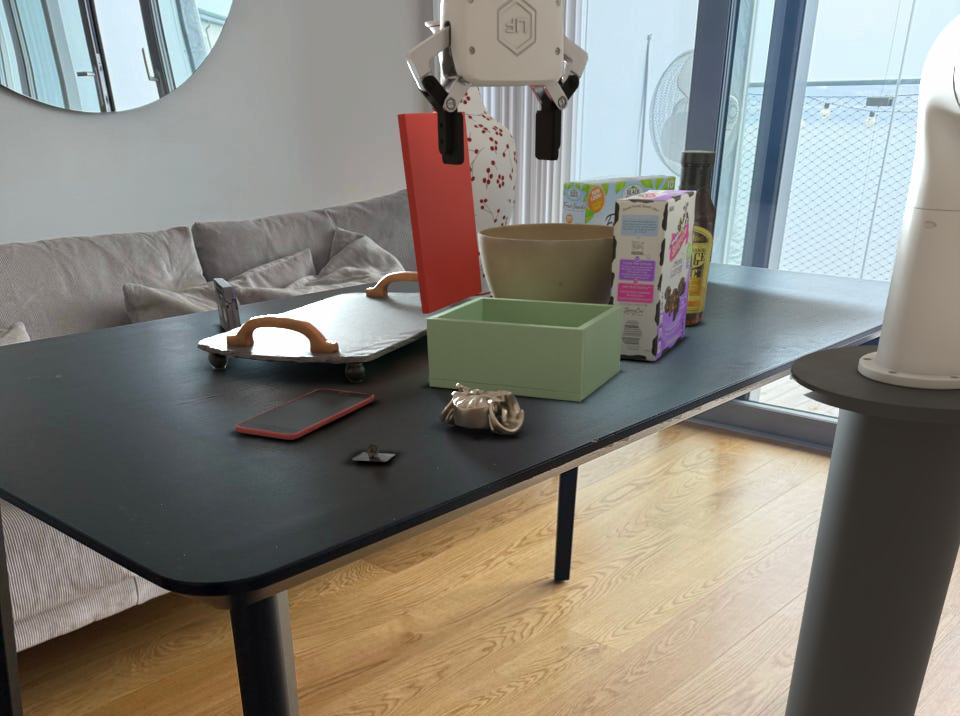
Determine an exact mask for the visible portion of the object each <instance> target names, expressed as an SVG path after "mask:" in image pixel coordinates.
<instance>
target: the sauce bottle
mask: <svg viewBox="0 0 960 716" xmlns="http://www.w3.org/2000/svg"><path fill="white" fill-rule="evenodd" d="M680 153H681V154H680V159H679V163H680V175H679V184H678V186H677V191H696V203H695V216H694V228H693V240H692V252H691V264H690V276H689V287H688V300H687V311H686V323H685V327H689V326H690V327H691V326H695V325H696V324H699V323H700V322H701V321H702V318H703V313H704V310H705V304H706V294H707V286H708V278H709V272H710V265H711V257H712V250H713V243H714V230H715V223H716V217H717V211H716V207H715V205H714V201H713V200H712V197H711V194H710V192H711V179H712V172H713V167H714V165H715V161H716V151H713V150H682V151H681V152H680Z"/></svg>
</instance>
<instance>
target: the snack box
mask: <svg viewBox="0 0 960 716" xmlns="http://www.w3.org/2000/svg"><path fill="white" fill-rule="evenodd" d="M676 180H677V177H676V176H674V175H665V174H647V175H635V176H634V175H632V176H620V177H619V176H618V177H607V178H595V179H586V180H585V179H584V180H572V181H564V182H563V189H562V210H561V211H562V214H561V223H578V224H597V225H608V226H614V217H615V202H616V199H623V198H627V197H631V196H634V195H638V194H641V193H645V192H647V191H648V190H676Z"/></svg>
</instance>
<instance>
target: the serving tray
mask: <svg viewBox="0 0 960 716" xmlns="http://www.w3.org/2000/svg"><path fill="white" fill-rule="evenodd" d="M396 282H397V283H398V282H415V283H419V282H418V274H417V271H411V270H409V271H407V270H405V271H396V272H392V273H391V272H390V273H388V274H386V275H384V276H383V277H382V278H381V279H380V280H379V281H378V282H377V284H376V285H375V286H374V287H367V288H366V289H365V292H349V293H341V294H340V293H339V294H337V295H333V296H331V297H327V298H324V299H323V300H318V301H315V302H313V303H309V304H307V305H304V306H302V307H297V308H295V309H290V310H287V311H285V312H282V313H278V314H267V315H259V316H254V317H251V318H249V319H247V320H246V321H245V322H244V323H243V324H242V325H241V327H240V328H236V329H233V330H230V331H228V332H226V331H225V332H221V333H218V334H215V335H212V336H211V337H207V338H203V339H202V340H200V341H198V343H197V346H196V348H197V349H199V350H201V351H202V352H203V351H204V352H206V353H208V357H207V360H208V363H209V365H210V366H211V367H212V369H213V370H217V371H218V370H225V369H226V368H227V367H226V366H227V365H228V362H229V358H235V359H236V358H237V359H239V358H240V359H245V360H251V361H259V362H260V361H261V362H270V363H271V362H275V363H276V362H277V363H292V364H293V363H294V364H331V365H338V364H346V366H345V369H344V373H345V376H346V378H347V379H348V380H349V383H353V384H355V383H362V382H363V381H364V380H363V379H364V378H365V376H366V368H365V366H364V364H363V363H367V362H372V361H375V360H376V359H378V358H381V357H383V356H385V355H387V354H389V353H392V352H393V351H396V350H397V349H401V348H402V347H405V346H407V345H409V344H412V343H414V342H416V341H417V340H419V339H421V338H423V337H425V336H427V322H426V319H427V318H429V317H432V316H434V315H437V314H439V313H441V312H444V311H446V310H449V309H451V308H454V307H456V306H459V305H461V304H463V303H466V302H468V301H471V300H473V299H471V298H467V299H464V300H462V301H459V302H457V303H454V304H452V305H449V306H447V307H444V308H442V309H439V310H437V311H434V312H432V313H429V314H423V313H422V306H421V298H420V292H396V291H395V292H394V291H392V292H390V291H389V290H388V287H389V285H391V284H392V283H396ZM228 357H229V358H228Z"/></svg>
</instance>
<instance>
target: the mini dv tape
mask: <svg viewBox="0 0 960 716" xmlns="http://www.w3.org/2000/svg"><path fill="white" fill-rule="evenodd" d="M212 280H213V288H214V293H215V300H216V306H217V312H218V318H219V324H220V326H221V328H222V329H223V330H224V331H225V332H228V331H230V330H233V329H236V328H240V327H242V325H241V319H240V318H241V317H240V311H239V304H238V299H237V293H236V291H235V289H234V286H232V285H231V284H229V282H228V281H226V280H225V279H224V278H223V277H216V278H215V277H214V278H212Z"/></svg>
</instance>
